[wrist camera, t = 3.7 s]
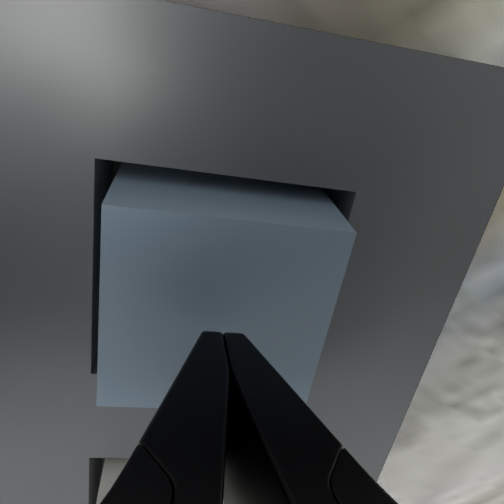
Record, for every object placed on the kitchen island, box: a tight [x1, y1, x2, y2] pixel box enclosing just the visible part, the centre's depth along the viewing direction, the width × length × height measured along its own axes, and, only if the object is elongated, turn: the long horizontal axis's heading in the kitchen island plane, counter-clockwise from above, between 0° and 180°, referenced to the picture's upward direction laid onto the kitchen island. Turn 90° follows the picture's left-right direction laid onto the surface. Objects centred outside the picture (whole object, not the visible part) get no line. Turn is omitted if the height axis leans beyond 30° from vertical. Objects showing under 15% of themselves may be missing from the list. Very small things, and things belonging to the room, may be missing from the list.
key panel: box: [0, 0, 504, 504], centre depth 17 cm, size 30×13×4 cm, turn 170°
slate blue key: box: [96, 162, 357, 408], centre depth 11 cm, size 5×5×3 cm
